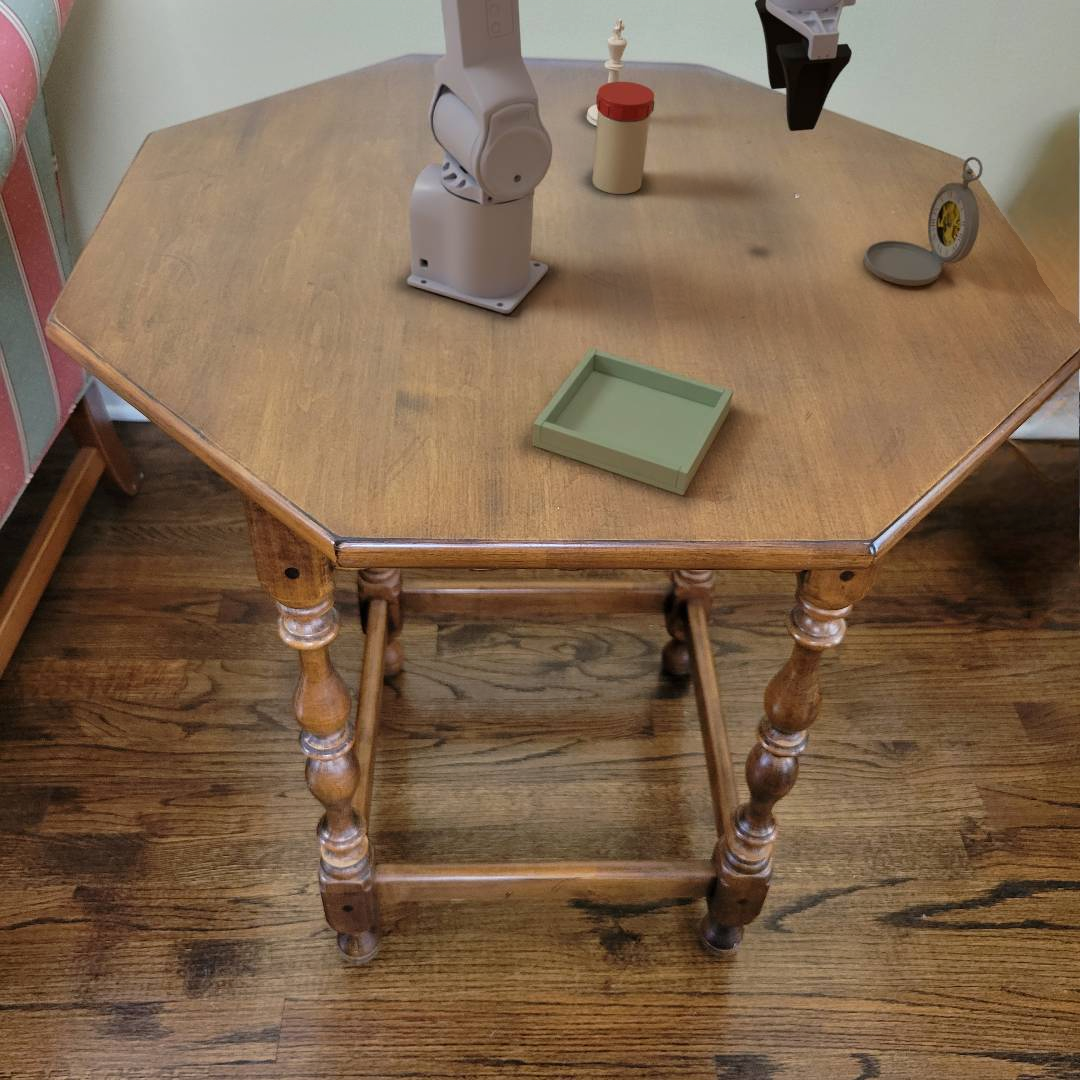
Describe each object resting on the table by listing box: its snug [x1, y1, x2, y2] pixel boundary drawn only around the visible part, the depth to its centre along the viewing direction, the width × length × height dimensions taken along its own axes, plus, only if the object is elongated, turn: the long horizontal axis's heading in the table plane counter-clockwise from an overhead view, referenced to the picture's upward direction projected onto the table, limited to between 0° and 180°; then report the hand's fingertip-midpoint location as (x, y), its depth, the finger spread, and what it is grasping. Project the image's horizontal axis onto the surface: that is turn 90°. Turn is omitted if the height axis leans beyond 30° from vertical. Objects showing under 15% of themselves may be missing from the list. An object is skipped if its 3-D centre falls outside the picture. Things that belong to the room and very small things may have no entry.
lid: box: [595, 81, 655, 120], centre depth 98 cm, size 5×5×1 cm
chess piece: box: [586, 18, 628, 127], centre depth 110 cm, size 5×5×10 cm
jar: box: [591, 111, 651, 195], centre depth 100 cm, size 5×5×8 cm
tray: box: [532, 347, 734, 496], centre depth 76 cm, size 11×10×2 cm
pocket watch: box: [863, 156, 984, 287], centre depth 91 cm, size 8×8×10 cm
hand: (791, 107), depth 92 cm, fingers open, 7 cm apart
